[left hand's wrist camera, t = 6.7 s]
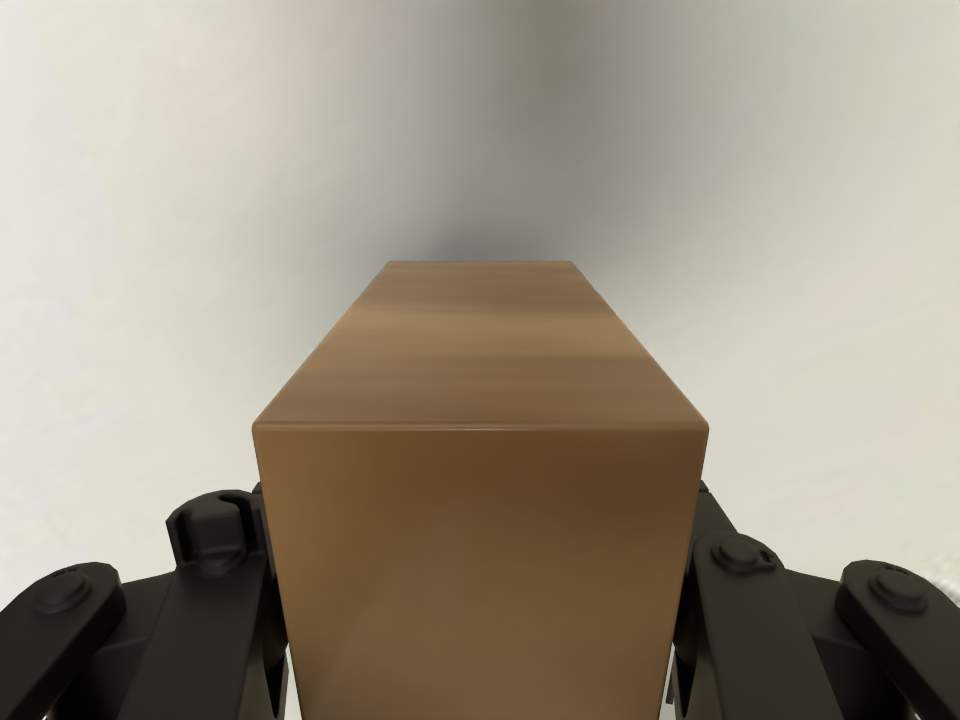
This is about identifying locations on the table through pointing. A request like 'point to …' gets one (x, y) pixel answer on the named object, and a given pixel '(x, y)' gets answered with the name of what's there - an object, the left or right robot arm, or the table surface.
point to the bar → (480, 502)
